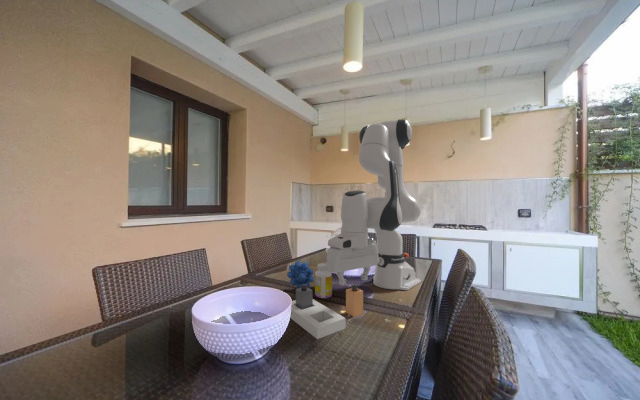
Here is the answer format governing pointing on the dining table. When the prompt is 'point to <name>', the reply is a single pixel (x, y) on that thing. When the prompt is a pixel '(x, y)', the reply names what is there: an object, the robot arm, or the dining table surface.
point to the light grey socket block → (318, 319)
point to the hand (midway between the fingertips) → (353, 282)
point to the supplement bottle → (323, 281)
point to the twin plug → (304, 297)
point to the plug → (354, 301)
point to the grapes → (300, 274)
